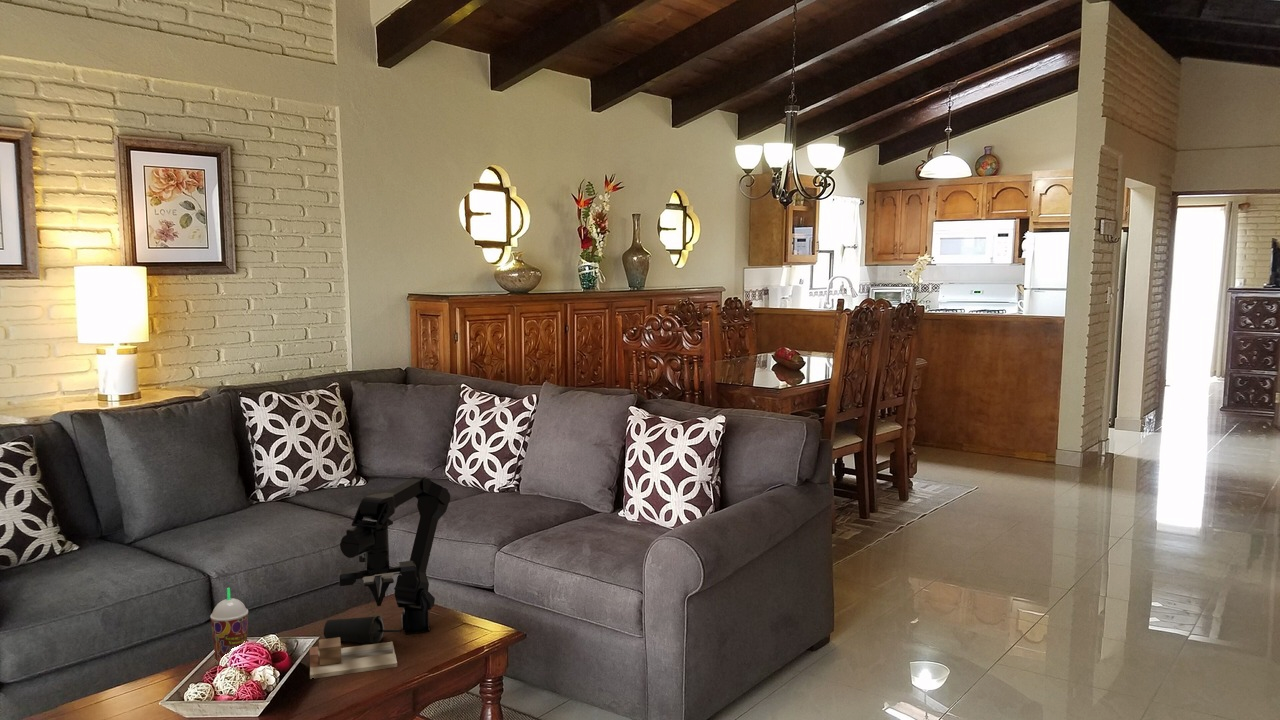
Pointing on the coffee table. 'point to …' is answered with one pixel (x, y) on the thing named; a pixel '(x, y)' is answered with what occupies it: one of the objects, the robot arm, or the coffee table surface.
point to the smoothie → (228, 625)
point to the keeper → (329, 651)
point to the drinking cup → (357, 629)
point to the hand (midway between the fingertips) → (379, 605)
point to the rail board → (355, 660)
